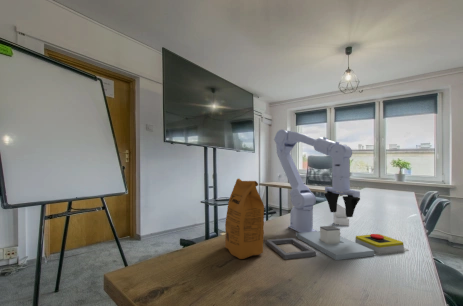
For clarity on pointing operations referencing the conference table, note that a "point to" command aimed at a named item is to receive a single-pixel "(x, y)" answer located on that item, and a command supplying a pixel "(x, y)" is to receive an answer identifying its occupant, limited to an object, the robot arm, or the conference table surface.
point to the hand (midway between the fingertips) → (341, 214)
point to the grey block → (330, 234)
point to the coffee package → (244, 220)
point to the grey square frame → (305, 253)
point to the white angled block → (340, 216)
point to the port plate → (336, 246)
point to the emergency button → (380, 243)
